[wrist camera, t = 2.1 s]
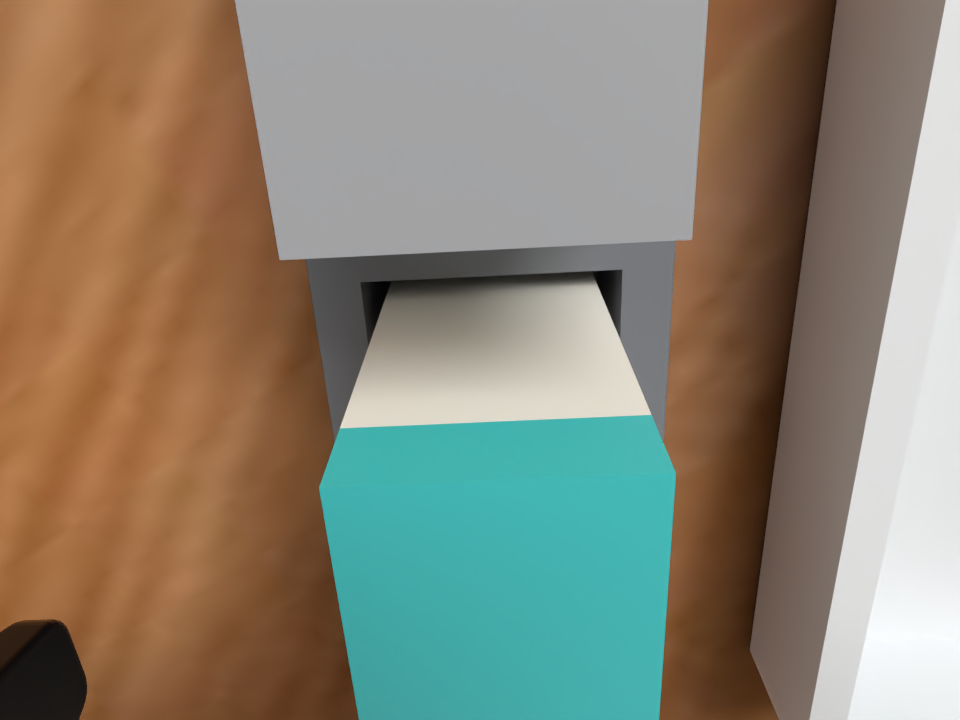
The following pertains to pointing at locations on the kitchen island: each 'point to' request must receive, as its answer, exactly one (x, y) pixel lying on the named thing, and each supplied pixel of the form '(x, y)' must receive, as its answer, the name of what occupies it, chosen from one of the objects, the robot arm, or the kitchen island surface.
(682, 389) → the kitchen island surface
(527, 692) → the block
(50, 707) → the robot arm
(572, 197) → the block
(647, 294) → the fuse holder
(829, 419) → the tray
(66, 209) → the kitchen island surface
